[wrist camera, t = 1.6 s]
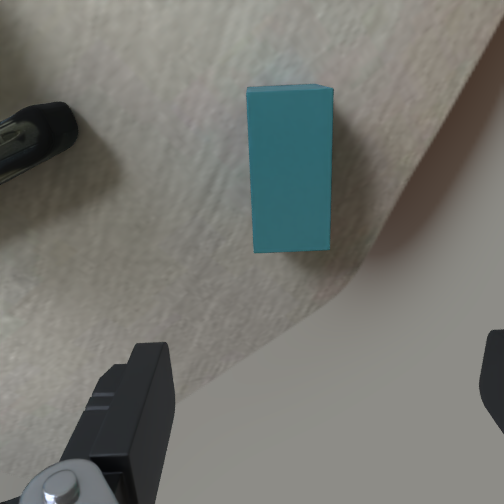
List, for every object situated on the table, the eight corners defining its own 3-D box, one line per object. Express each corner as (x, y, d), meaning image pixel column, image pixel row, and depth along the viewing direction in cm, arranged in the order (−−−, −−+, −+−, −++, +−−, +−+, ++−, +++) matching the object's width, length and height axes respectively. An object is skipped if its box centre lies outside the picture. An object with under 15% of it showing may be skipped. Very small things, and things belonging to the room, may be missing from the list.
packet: (315, 83, 26) (333, 88, 20) (314, 215, 29) (330, 250, 23) (247, 87, 26) (246, 92, 20) (253, 218, 29) (253, 253, 24)
